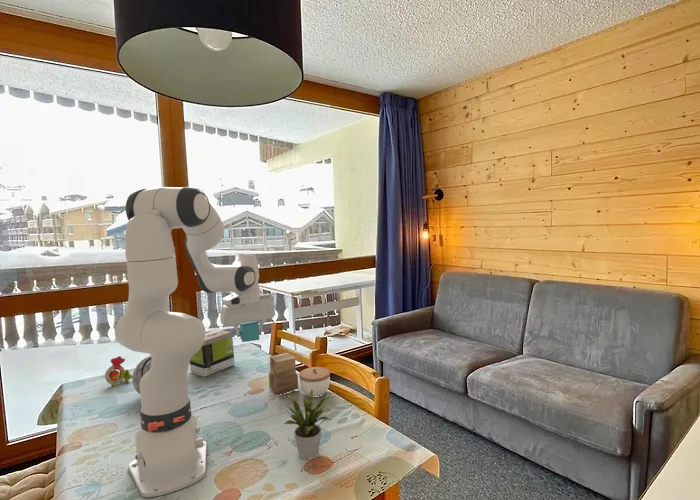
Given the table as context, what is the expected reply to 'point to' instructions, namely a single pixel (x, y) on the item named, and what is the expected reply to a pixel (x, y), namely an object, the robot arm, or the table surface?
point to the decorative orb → (140, 372)
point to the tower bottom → (283, 383)
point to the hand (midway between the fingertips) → (249, 333)
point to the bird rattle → (117, 372)
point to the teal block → (249, 331)
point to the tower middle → (282, 365)
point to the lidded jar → (315, 380)
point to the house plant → (307, 425)
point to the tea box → (213, 353)
